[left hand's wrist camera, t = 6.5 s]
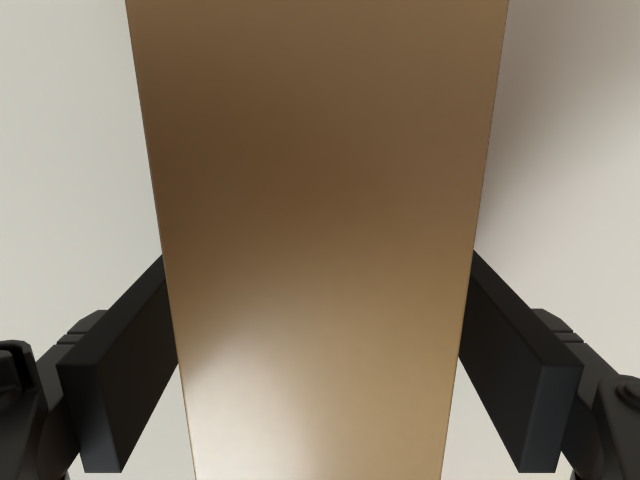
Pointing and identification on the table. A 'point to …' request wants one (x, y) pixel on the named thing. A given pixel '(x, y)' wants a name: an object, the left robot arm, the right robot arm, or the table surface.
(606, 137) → the table surface
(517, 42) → the table surface
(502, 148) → the table surface
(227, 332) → the beam
